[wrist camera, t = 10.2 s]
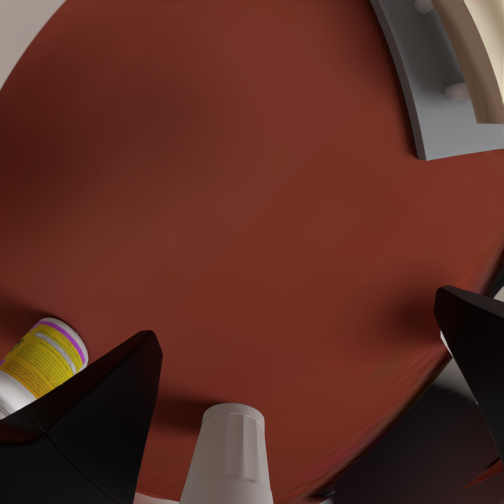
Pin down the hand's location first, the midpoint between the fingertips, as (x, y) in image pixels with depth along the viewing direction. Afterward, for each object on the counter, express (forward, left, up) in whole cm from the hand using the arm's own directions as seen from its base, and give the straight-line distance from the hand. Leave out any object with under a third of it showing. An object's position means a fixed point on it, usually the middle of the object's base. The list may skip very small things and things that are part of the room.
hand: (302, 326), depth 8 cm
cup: (+19, -9, -12) cm, 24 cm away
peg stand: (-10, +16, -12) cm, 22 cm away
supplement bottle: (+6, -23, -12) cm, 27 cm away
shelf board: (-10, +16, -8) cm, 20 cm away
